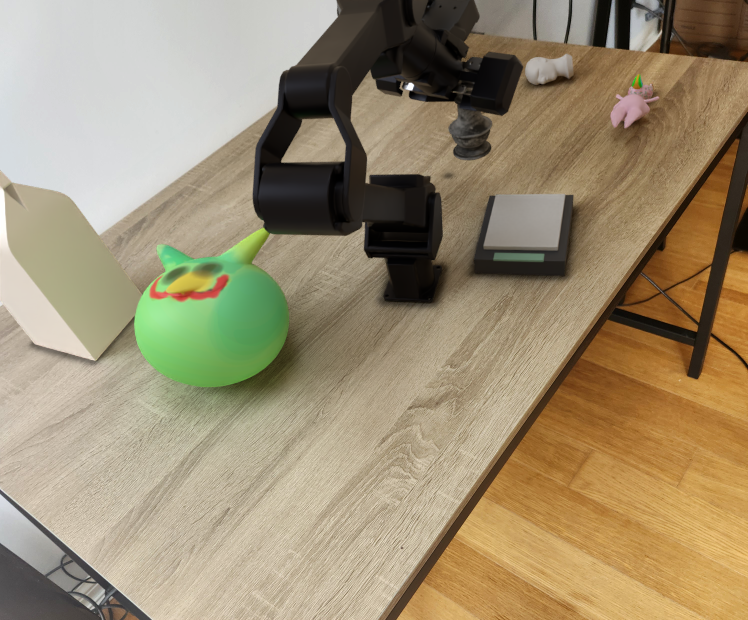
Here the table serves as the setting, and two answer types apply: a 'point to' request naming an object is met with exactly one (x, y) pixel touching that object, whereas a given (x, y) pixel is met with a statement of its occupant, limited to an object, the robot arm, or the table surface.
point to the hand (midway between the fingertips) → (474, 99)
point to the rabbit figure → (633, 103)
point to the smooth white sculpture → (548, 69)
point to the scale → (525, 235)
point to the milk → (60, 273)
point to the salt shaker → (470, 133)
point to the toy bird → (212, 316)
